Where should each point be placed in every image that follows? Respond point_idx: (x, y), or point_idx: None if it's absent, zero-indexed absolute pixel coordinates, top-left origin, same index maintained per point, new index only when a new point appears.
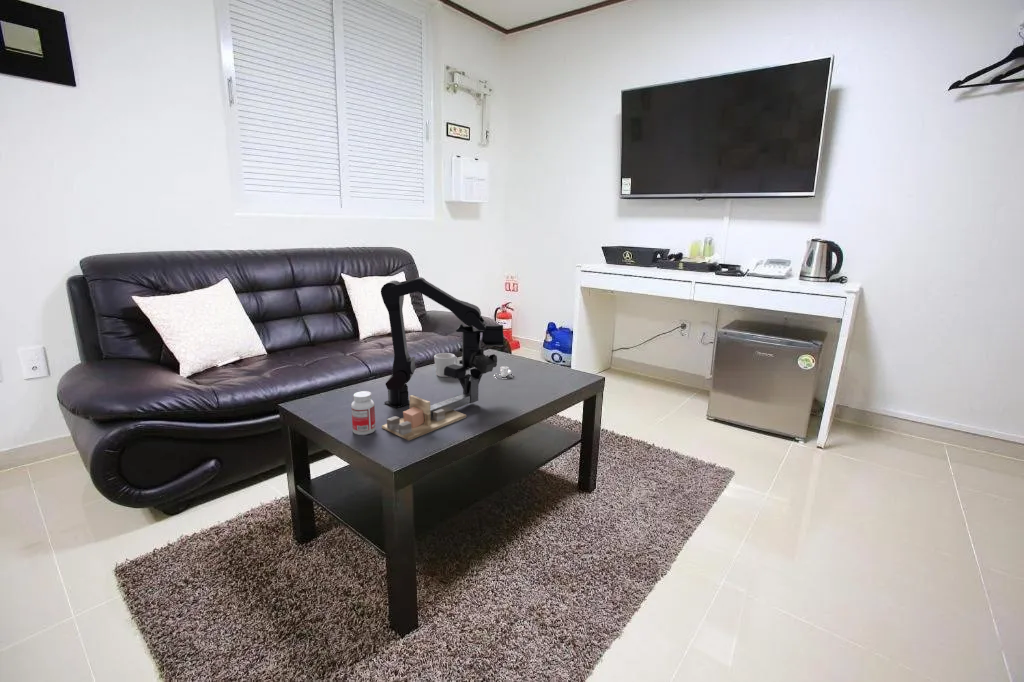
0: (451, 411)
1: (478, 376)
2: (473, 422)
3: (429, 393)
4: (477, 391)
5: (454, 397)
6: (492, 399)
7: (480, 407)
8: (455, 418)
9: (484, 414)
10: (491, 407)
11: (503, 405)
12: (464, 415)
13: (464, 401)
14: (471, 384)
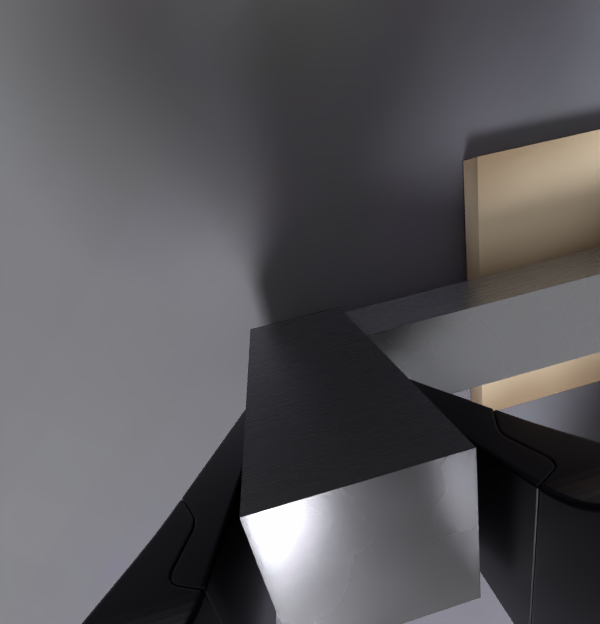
0: None
1: (210, 599)
2: (490, 25)
3: None
4: (264, 365)
5: (495, 372)
6: (85, 358)
7: (263, 266)
8: (577, 142)
9: (320, 116)
10: (183, 214)
11: (53, 190)
12: (494, 153)
13: (420, 306)
14: (418, 406)
